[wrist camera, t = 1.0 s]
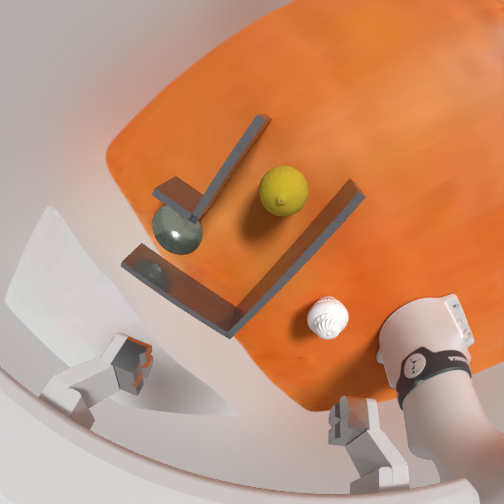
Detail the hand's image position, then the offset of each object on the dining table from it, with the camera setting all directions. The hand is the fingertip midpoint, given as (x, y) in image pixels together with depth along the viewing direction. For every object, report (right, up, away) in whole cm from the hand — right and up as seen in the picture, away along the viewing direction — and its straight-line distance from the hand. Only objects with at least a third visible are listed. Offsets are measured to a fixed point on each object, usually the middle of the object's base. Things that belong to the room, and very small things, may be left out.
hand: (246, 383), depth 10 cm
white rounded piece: (+12, -3, +32) cm, 34 cm away
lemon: (+5, +14, +24) cm, 28 cm away
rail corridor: (-2, +10, +28) cm, 29 cm away
